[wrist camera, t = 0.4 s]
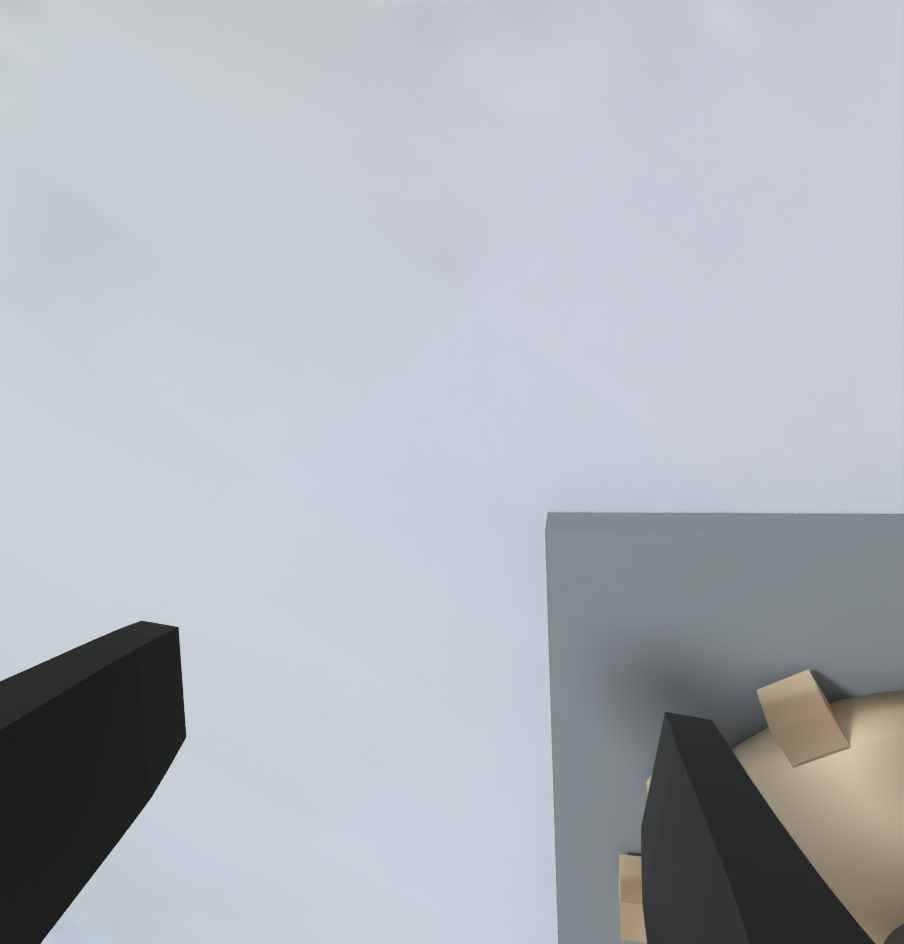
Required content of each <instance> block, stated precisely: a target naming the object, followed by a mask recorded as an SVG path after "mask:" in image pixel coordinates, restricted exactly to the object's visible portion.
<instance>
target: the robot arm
mask: <svg viewBox="0 0 904 944" xmlns="http://www.w3.org/2000/svg"><path fill="white" fill-rule="evenodd" d="M185 738H186V727H185V713H184V699H183V685H182V671H181V657H180V643H179V629H178V627H175V626H169V625H163V624H157V623H152V622H146V621H140V622H137V623H134V624H132V625H129V626H126V627H123V628H121V629H118V630H116V631H114V632H111V633H109V634H106V635H104V636H102V637H99V638H97V639H95V640H92V641H90V642H88V643H86V644H83V645H81V646H79V647H77V648H74V649H72V650H70V651H68V652H66V653H63V654H61V655H59V656H57V657H54V658H52V659H50V660H48V661H45V662H43V663H41V664H39V665H36V666H34V667H32V668H30V669H27V670H25V671H23V672H21V673H18V674H16V675H14V676H12V677H9V678H7V679H5V680H3V681H0V944H41V942H42V941H43V940H44V938H45V937H46V936H47V934H48V933H49V932H50V930H51V929H52V928H53V926H54V925H55V924H56V923H57V921H58V920H59V919H60V917H61V916H62V915H63V913H64V912H65V911H66V910H67V908H68V907H69V906H70V904H71V903H72V902H73V900H74V899H75V898H76V896H77V895H78V894H79V893H80V891H81V890H82V889H83V887H84V886H85V885H86V883H87V882H88V881H89V880H90V878H91V877H92V876H93V874H94V873H95V872H96V870H97V869H98V868H99V866H100V865H101V864H102V863H103V861H104V860H105V859H106V857H107V856H108V855H109V853H110V852H111V851H112V850H113V848H114V847H115V846H116V844H117V843H118V842H119V840H120V839H121V838H122V836H123V835H124V834H125V832H126V831H127V830H128V828H129V827H130V826H131V824H132V823H133V822H134V820H135V819H136V818H137V816H138V815H139V814H140V812H141V811H142V810H143V808H144V807H145V806H146V804H147V803H148V801H149V800H150V799H151V797H152V795H153V794H154V792H155V790H156V789H157V787H158V786H159V784H160V782H161V781H162V779H163V777H164V776H165V774H166V772H167V771H168V769H169V767H170V765H171V763H172V762H173V760H174V758H175V756H176V754H177V753H178V751H179V749H180V747H181V746H182V744H183V742H184V740H185ZM641 870H642V905H643V914H644V923H645V931H646V939H647V944H875V942H874V941H873V940H872V939H871V938H870V937H869V936H868V934H867V933H866V932H865V931H864V930H863V928H862V927H861V926H860V925H859V924H858V922H857V921H856V920H855V919H854V917H853V916H852V915H851V914H850V912H849V911H848V910H847V909H846V907H845V906H844V905H843V904H842V902H841V901H840V900H839V899H838V897H837V896H836V895H835V894H834V892H833V891H832V890H831V889H830V887H829V886H828V885H827V884H826V882H825V881H824V880H823V878H822V877H821V876H820V874H819V873H818V872H817V870H816V869H815V868H814V867H813V865H812V864H811V863H810V861H809V860H808V859H807V857H806V856H805V854H804V853H803V852H802V850H801V849H800V848H799V846H798V845H797V843H796V842H795V841H794V839H793V838H792V837H791V835H790V834H789V832H788V831H787V830H786V828H785V827H784V826H783V824H782V823H781V822H780V820H779V819H778V817H777V816H776V814H775V813H774V812H773V810H772V809H771V807H770V806H769V804H768V803H767V802H766V800H765V799H764V797H763V796H762V794H761V793H760V791H759V790H758V788H757V787H756V785H755V784H754V782H753V781H752V779H751V778H750V777H749V775H748V774H747V772H746V771H745V769H744V767H743V766H742V764H741V763H740V761H739V760H738V758H737V757H736V755H735V754H734V752H733V751H732V749H731V748H730V746H729V745H728V743H727V742H726V740H725V738H724V737H723V735H722V734H721V732H720V731H719V729H718V728H717V727H716V725H715V724H714V723H713V721H712V720H710V719H704V718H699V717H693V716H687V715H681V714H676V713H670V712H665V714H664V719H663V724H662V729H661V734H660V738H659V743H658V748H657V753H656V758H655V762H654V767H653V772H652V777H651V782H650V787H649V791H648V796H647V801H646V806H645V811H644V815H643V820H642V825H641Z"/></svg>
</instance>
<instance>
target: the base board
mask: <svg viewBox="0 0 904 944" xmlns="http://www.w3.org/2000/svg"><path fill="white" fill-rule="evenodd" d="M545 541H546V572H547V603H548V634H549V665H550V696H551V728H552V759H553V790H554V821H555V852H556V883H557V914H558V944H647V943H646V942H638V941H630V940H621V929H620V901H619V854H622V855H632V856H641V825H642V820H643V815H644V811H645V806H646V801H647V796H648V793H647V780H648V779H649V778H650V777H651V775H652V772H653V767H654V762H655V758H656V753H657V748H658V743H659V738H660V734H661V729H662V724H663V719H664V714H665V712H670V713H676V714H681V715H687V716H693V717H699V718H704V719H710V720H712V721H713V723H714V724H715V725H716V727H717V728H718V729H719V731H720V732H721V734H722V735H723V737H724V738H725V740H726V742H727V743H728V745H729V746H730V748H731V749H732V750H733V749H734V748H735V747H736V746H738V745H739V744H740V743H742V742H744V741H745V740H747V739H749V738H751V737H752V736H754V735H756V734H757V733H759V732H761V731H762V730H764V729H766V728H768V727H769V726H768V723H767V720H766V718H765V715H764V712H763V709H762V706H761V703H760V700H759V697H758V694H757V691H756V690H757V689H760V688H762V687H765V686H768V685H770V684H773V683H775V682H778V681H780V680H783V679H785V678H788V677H790V676H793V675H795V674H798V673H800V672H803V671H806V670H808V669H809V670H810V672H811V674H812V675H813V677H814V679H815V680H816V682H817V684H818V685H819V687H820V689H821V690H822V692H823V693H824V695H825V697H826V698H827V700H828V702H829V703H832V702H836V701H839V700H844V699H849V698H854V697H859V696H864V695H869V694H874V693H880V692H890V691H900V690H904V514H747V513H548V516H547V522H546V528H545Z"/></svg>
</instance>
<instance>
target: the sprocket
mask: <svg viewBox="0 0 904 944" xmlns="http://www.w3.org/2000/svg"><path fill="white" fill-rule="evenodd" d="M756 691H757V694H758V697H759V700H760V703H761V706H762V709H763V712H764V715H765V718H766V720H767V723H768V726H769V727H768V728H766V729H764V730H762V731H761V732H759V733H757V734H756V735H754V736H752V737H751V738H749V739H747V740H745V741H744V742H742V743H740V744H739V745H738V746H736V747H735V748H734V749H733V750H732V751H733V752H734V754H735V755H736V757H737V758H738V760H739V761H740V763H741V764H742V766H743V767H744V769H745V771H746V772H747V774H748V775H749V777H750V778H751V779H752V781H753V782H754V784H755V785H756V787H757V788H758V790H759V791H760V793H761V794H762V796H763V797H764V799H765V800H766V802H767V803H768V804H769V806H770V807H771V809H772V810H773V812H774V813H775V814H776V816H777V817H778V819H779V820H780V822H781V823H782V824H783V826H784V827H785V828H786V830H787V831H788V832H789V834H790V835H791V837H792V838H793V839H794V841H795V842H796V843H797V845H798V846H799V848H800V849H801V850H802V852H803V853H804V854H805V856H806V857H807V859H808V860H809V861H810V863H811V864H812V865H813V867H814V868H815V869H816V870H817V872H818V873H819V874H820V876H821V877H822V878H823V880H824V881H825V882H826V884H827V885H828V886H829V887H830V889H831V890H832V891H833V892H834V894H835V895H836V896H837V897H838V899H839V900H840V901H841V902H842V904H843V905H844V906H845V907H846V909H847V910H848V911H849V912H850V914H851V915H852V916H853V917H854V919H855V920H856V921H857V922H858V924H859V925H860V926H861V927H862V928H863V930H864V931H865V932H866V933H867V934H868V936H869V937H870V938H871V939H872V940H873V941H874V942H875V944H904V690H900V691H890V692H880V693H874V694H869V695H864V696H859V697H854V698H849V699H844V700H839V701H836V702H832V703H829V702H828V700H827V698H826V697H825V695H824V693H823V692H822V690H821V689H820V687H819V685H818V684H817V682H816V680H815V679H814V677H813V675H812V674H811V672H810V670H809V669H808V670H806V671H803V672H800V673H798V674H795V675H793V676H790V677H788V678H785V679H783V680H780V681H778V682H775V683H773V684H770V685H768V686H765V687H762V688H760V689H757V690H756ZM651 777H652V775H651ZM651 777H650V778H649V779H648V780H647V793H648V791H649V787H650V782H651ZM619 901H620V929H621V940H630V941H638V942H646V943H647V939H646V931H645V923H644V914H643V905H642V870H641V856H632V855H622V854H619Z"/></svg>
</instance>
